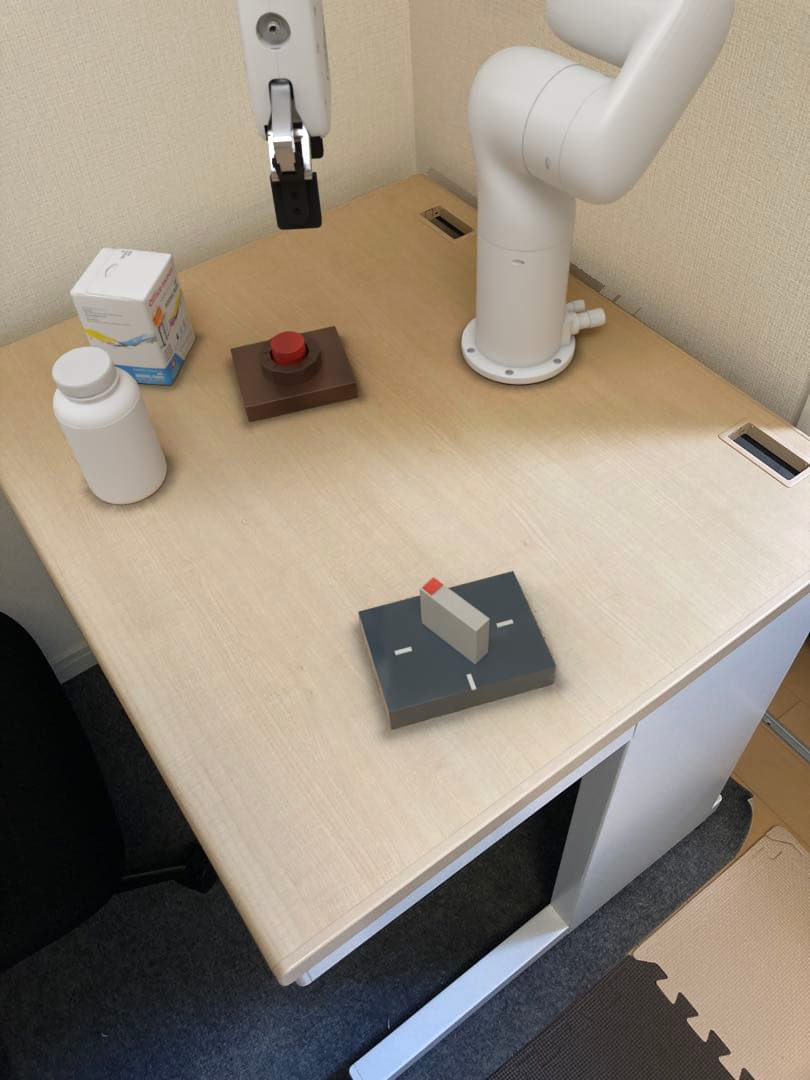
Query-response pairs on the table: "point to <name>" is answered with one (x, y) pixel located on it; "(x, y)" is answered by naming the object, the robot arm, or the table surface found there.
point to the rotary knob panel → (455, 654)
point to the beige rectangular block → (454, 620)
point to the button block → (294, 376)
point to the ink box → (135, 313)
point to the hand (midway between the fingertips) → (302, 190)
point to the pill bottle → (107, 426)
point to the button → (288, 348)
